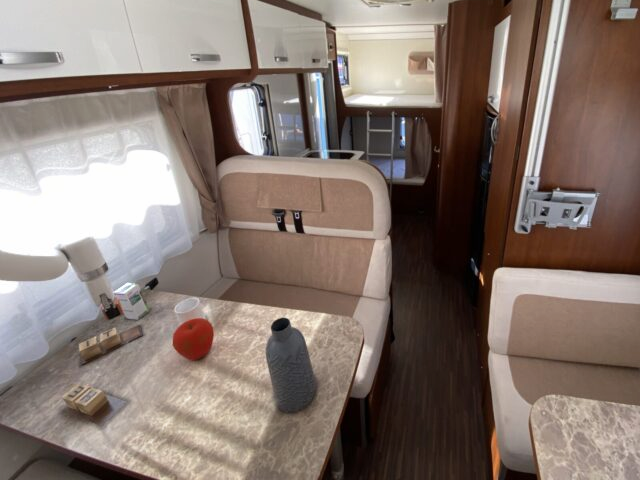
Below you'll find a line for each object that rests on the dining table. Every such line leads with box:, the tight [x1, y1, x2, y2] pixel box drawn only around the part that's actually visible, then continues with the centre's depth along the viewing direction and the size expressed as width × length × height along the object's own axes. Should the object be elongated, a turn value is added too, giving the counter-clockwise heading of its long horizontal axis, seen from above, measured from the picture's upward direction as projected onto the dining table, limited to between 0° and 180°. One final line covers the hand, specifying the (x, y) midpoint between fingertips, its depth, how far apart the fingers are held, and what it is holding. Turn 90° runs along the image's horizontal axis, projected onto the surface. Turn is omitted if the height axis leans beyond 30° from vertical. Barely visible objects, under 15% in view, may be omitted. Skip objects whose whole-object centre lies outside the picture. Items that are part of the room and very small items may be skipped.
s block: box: [100, 297, 124, 321], centre depth 106 cm, size 4×4×5 cm
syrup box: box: [113, 282, 151, 320], centre depth 123 cm, size 6×6×14 cm
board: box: [78, 324, 144, 366], centre depth 111 cm, size 17×7×6 cm, turn 134°
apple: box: [172, 318, 215, 361], centre depth 104 cm, size 12×12×14 cm
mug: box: [173, 297, 207, 326], centre depth 118 cm, size 12×8×10 cm
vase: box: [265, 317, 317, 414], centre depth 87 cm, size 12×12×28 cm
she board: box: [61, 382, 128, 427], centre depth 90 cm, size 17×7×6 cm, turn 74°
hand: (114, 312), depth 106 cm, fingers closed on s block, 4 cm apart
